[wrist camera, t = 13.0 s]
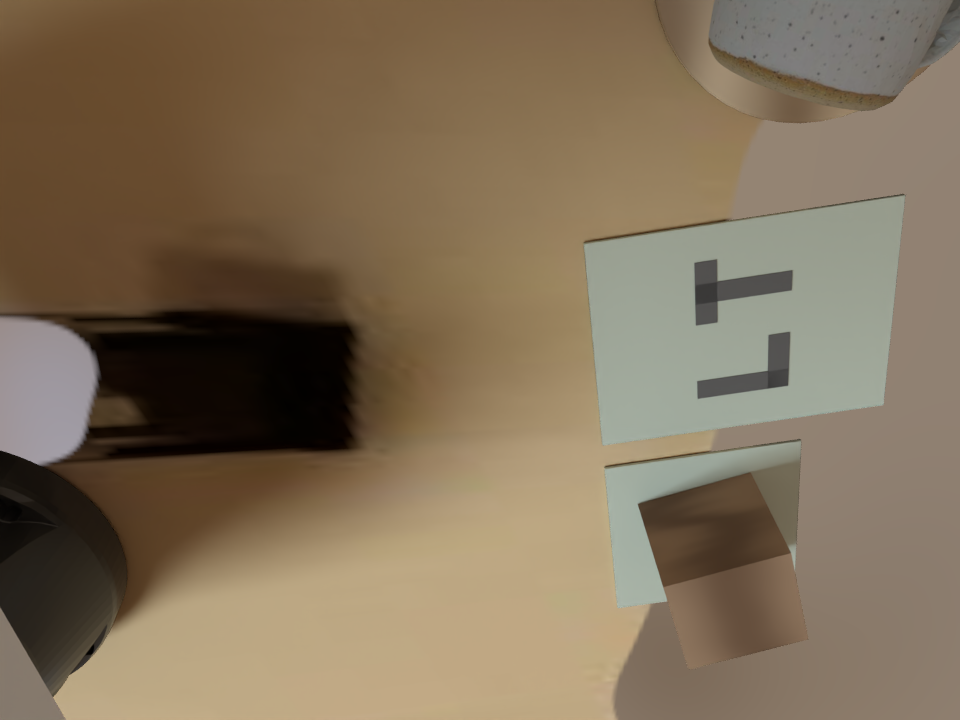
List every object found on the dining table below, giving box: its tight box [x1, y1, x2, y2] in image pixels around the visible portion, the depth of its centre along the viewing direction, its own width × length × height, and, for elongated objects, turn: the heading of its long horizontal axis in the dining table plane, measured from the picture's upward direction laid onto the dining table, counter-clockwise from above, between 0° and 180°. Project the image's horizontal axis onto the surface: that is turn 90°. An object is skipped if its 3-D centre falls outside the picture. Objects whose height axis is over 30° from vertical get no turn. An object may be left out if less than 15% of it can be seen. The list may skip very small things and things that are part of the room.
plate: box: [605, 439, 801, 608], centre depth 47 cm, size 10×10×1 cm
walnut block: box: [638, 472, 808, 670], centre depth 45 cm, size 6×6×6 cm
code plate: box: [584, 194, 905, 445], centre depth 41 cm, size 14×11×1 cm
